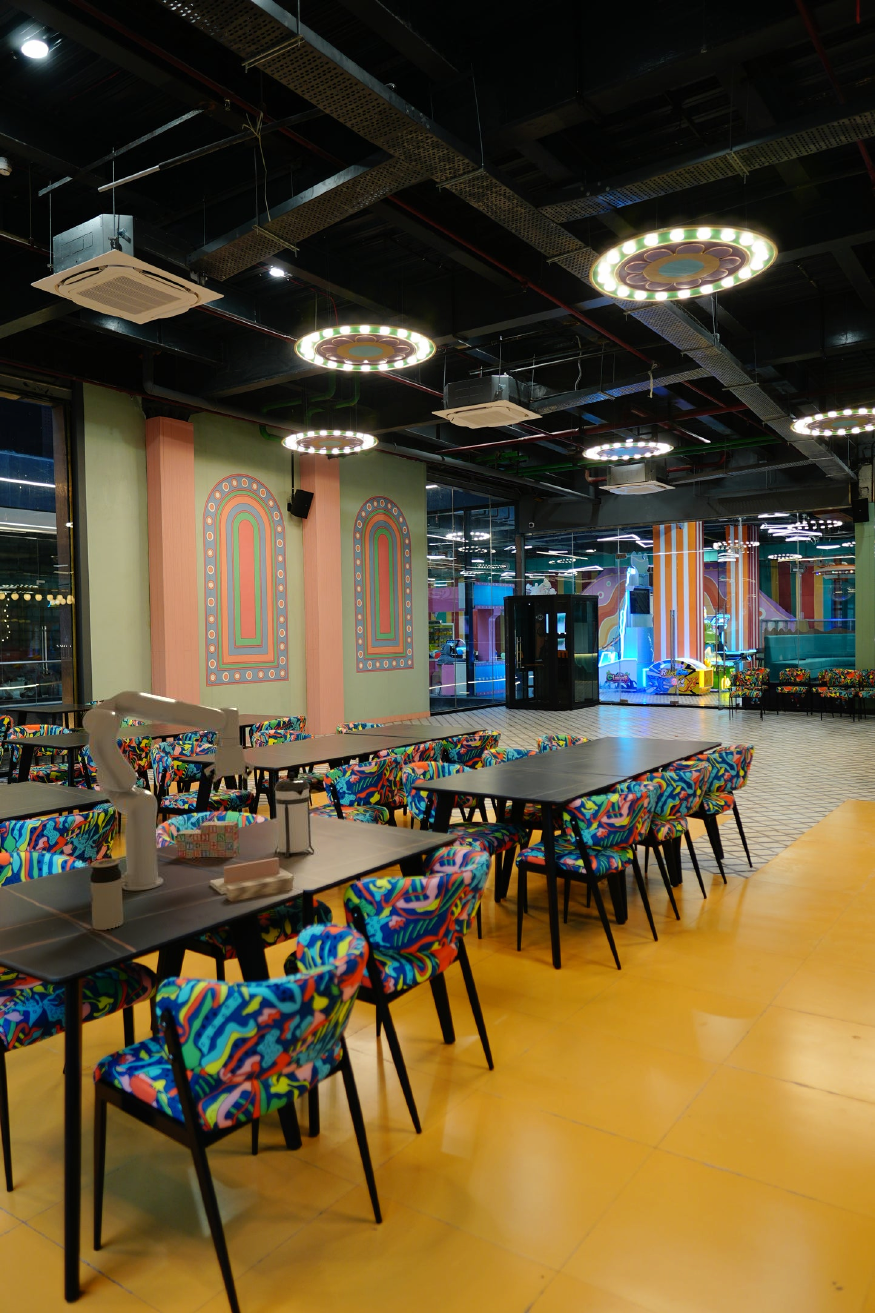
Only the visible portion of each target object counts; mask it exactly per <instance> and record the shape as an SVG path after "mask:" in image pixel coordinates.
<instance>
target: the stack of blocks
mask: <svg viewBox="0 0 875 1313" xmlns="http://www.w3.org/2000/svg"><path fill="white" fill-rule="evenodd" d="M239 836H240V835H239V821H231V820H225V821H224V820H222V821H219V820H218V821H205V822H204V823H202V824H200V829H183V830H180V831H178V833H177V834H176V842H177V858H178V859H196V858H195V857H198V858H197V859H200V858H199V857H234V858H235V857H237V856H238V855H239V854H240V844H239ZM237 854H238V855H237ZM192 857H193V858H192Z"/></svg>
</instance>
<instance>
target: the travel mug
mask: <svg viewBox="0 0 875 1313" xmlns="http://www.w3.org/2000/svg"><path fill="white" fill-rule="evenodd" d="M119 863H120V859H119V858H105V859H104V858H102V859H98V860H95V861H93V862H91V863H90V867H91V868H92V872H91V874H90V876H89V878H90V894H91V896H90V897H91V898H90V899H91V915H92V916H91V918H92V919H91V921H92V928H93V929H94V930H98V931H108V930H107V929H109V930H112V929H111V928H113V929H116V928H115V927H117V928H119V927H121V926H122V925H123V924H124V908H123V888H122V884H123V883H121V877H122V871H121V869H120V868H119V865H120V864H119ZM118 926H119V927H118Z"/></svg>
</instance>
